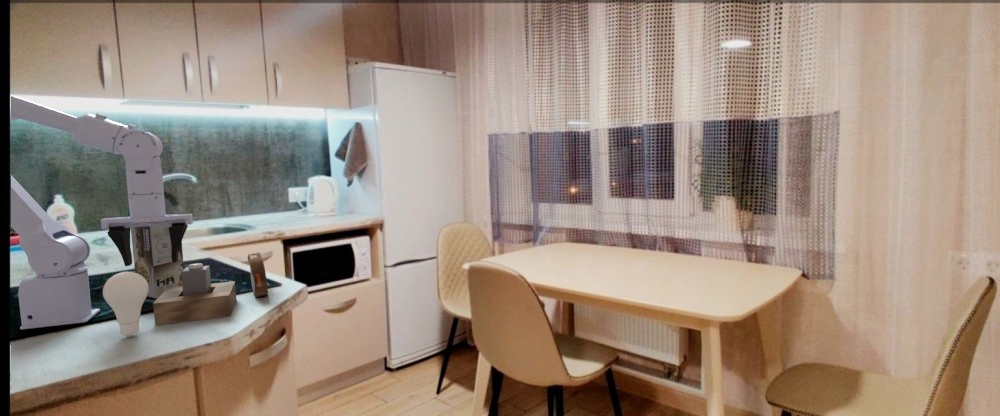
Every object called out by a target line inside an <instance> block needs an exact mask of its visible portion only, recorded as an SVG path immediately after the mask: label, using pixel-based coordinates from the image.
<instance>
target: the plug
mask: <svg viewBox="0 0 1000 416" xmlns="http://www.w3.org/2000/svg"><path fill="white" fill-rule="evenodd" d="M181 275H182V287H183V296H190V295H200V294H209V293H212V291H211V284H212V280H211V266H210V265H203V263H200V262H199V263H191V264H188V266H187V267H184V270H183V271H181Z"/></svg>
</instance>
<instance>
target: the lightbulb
mask: <svg viewBox="0 0 1000 416" xmlns="http://www.w3.org/2000/svg"><path fill="white" fill-rule="evenodd" d="M148 290H149V287H148V283H147V281H146V279H145V278H144V277H143V276H141V275H140V274H137V273H135V271H122V272H119V273H116V274H114V275H112V276H111V277H109V278H108V279H107V280H106V281H105V284H104V285H103V288H102V296H103V299H104V300H105V302H106V303H107V304H108V305H109V306H110V308H111V309H112V311H113V313H114V315H115V317H116V322H117V323H118V326H119V332H120V335H122V336H125V337H127V338H131V337H134V336H135V335H136V334H137V333H139V331H140V320H141V312H142V307H143V304H144V302H145V300H146V299H147V297H148V296H147V294H148Z"/></svg>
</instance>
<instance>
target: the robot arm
mask: <svg viewBox="0 0 1000 416" xmlns="http://www.w3.org/2000/svg"><path fill="white" fill-rule="evenodd" d="M17 120H25V121H28V122H31V123H35V124H38V125H41V126H46V127H48V128H51V129H56V130H59V131H63V132H66V133H69V134H71V135H72V137H73V138H74V139H75V141H76V143H78V144H80V145H84V146H88V147H91V148H95V149H98V150H101V151H104V152H108V153H111V154H114V155H122V156H123V157H124V158H125V168H126V170H125V174H126V186H127V196H128V208H129V216H121V217H105V218H100V224H101V226H100V227H101V230H108V231H107V235H108V237H109V239H110V240H111V241H112V242H113V244H114V245H115V247H116V249H117V250H118V251H119V253H120V256H121V258H122V261H123V263H124V267H129V266H132V265H133V255H132V254H133V253H132V249H131V248H132V247H131V227H146V226H164V225H172V226H170V227H169V234H170V240H171V258H172V262H177V261H178V255H179V249H180V245H181V242H182V243H183V239H184V236H185V234H186V231H187V229H188V227H189V226H188V225H192V224H193V223H194V217H193V213H184V214H183V213H181V214H179V213H178V214H166V213H167V212H166V203H165V201H166V199H165V189H164V177H163V170H162V161H161V157H160V156H162V155H161V154H162V153H163V150H164V149H163V148H164V147H163V146H164V145H163V142H162V140H161V139H160V138H159V137H158V136H157V135H156V134H153V133H151V132H150V131H147V130H137V129H136V128H137V126H136V125H134V124H131V123H130V124H129V123H128V125H126V124H122V123H120V122H117V121H113V120H110V119H108V116H107V115H105V114H102V113H96V114H91V113H87V114H84V115H81V116H76V115H75V116H74V115H71V114H68V113H66V112H63V111H59V110H58V109H57V110H56V109H55V108H52V107H48V106H45V105H42V104H39V103H38V102H33V101H30V100H28V99H25V98H22V97H20V96H14V95H11V121H17ZM11 121H10V122H11ZM155 221H159V222H167V223H149V224H136V223H140V222H155ZM130 224H131V225H130ZM10 227H11V228H12V230H14V231H15V232H16V234H18V236H19V237H18V238H19V240H18V241H19V247H20V249H21V250H23V252H24V254H25V255H26V257H27V262H28V266H29V267H30V268H31V269H32V270H33V271H34V272H35V275H29V276H25V277H23V278H22V279H21V280H20V282H19V286H18V305H19V313H20V320H21V326H20V327H19V329H20V330H29V329H38V328H45V327H47V328H48V327H54V326H63V325H73V324H81V323H82V324H83V323H86V322H88V321H90V320H91V319H93V317H95V316H96V315H97V314H99V312H100V311H101V309H100V308H92V300H91V291H90V282H89V272H88V266H87V265H86V264H85V261H86V260H88V258H89V257H90V254H91V246H90V244H89V242H88V240H87V239H85V238H84V237H82V236H80V235H78V234H76V233H73V232H72V231H71V230H69V228H68V227H66V226H65V225H64V224H63V223H60V222H58V221H56V220H54V218H52V217H51V216H50V214H48V213H47V212H46V211H45V210H44V209H43V207H42V206H40V204H39V203H38V202H37V201H36V200H35V199H34V198H33V197H32V196H31V195H30V194H29V192H28V191H27V190H26V189H25V188H24V187H23V186H22V185H21V183H19V182H18V181H17V180H16V178H14V176H13V175H12V174H11V226H10Z"/></svg>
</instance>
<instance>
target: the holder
mask: <svg viewBox="0 0 1000 416" xmlns="http://www.w3.org/2000/svg"><path fill="white" fill-rule="evenodd" d="M211 291H212V293H209V294H200V295H190V296H183V287H172V288H167V289H166V290H165V291H164V292H163V293H162V294H161V296H160V297H159V298H156V299H155V301H154V302H152V306H153V317H154V318H153V319H154V326H158V325H159V326H160V325H167V324H169V325H170V324H177V323H185V322H191V321H200V320H208V319H216V318H217V319H218V318H224V317H226V318H227V317H231V316H232V314H233V311H234V308H235V305H236V302H237V289H236V281H235V280H234V281H225V282H213V283H211Z"/></svg>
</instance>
